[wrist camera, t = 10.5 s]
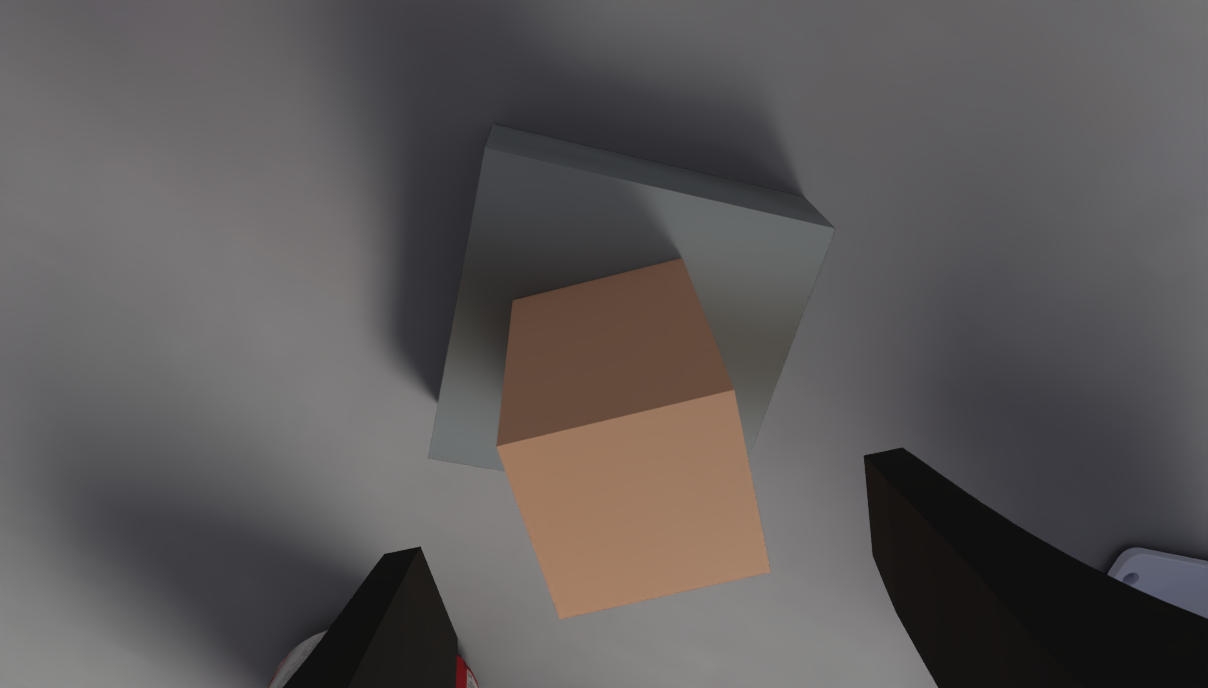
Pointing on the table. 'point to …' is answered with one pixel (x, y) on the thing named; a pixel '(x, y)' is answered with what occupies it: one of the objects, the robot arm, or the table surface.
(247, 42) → the table surface
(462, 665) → the soda can
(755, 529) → the terracotta block
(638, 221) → the slate slab
